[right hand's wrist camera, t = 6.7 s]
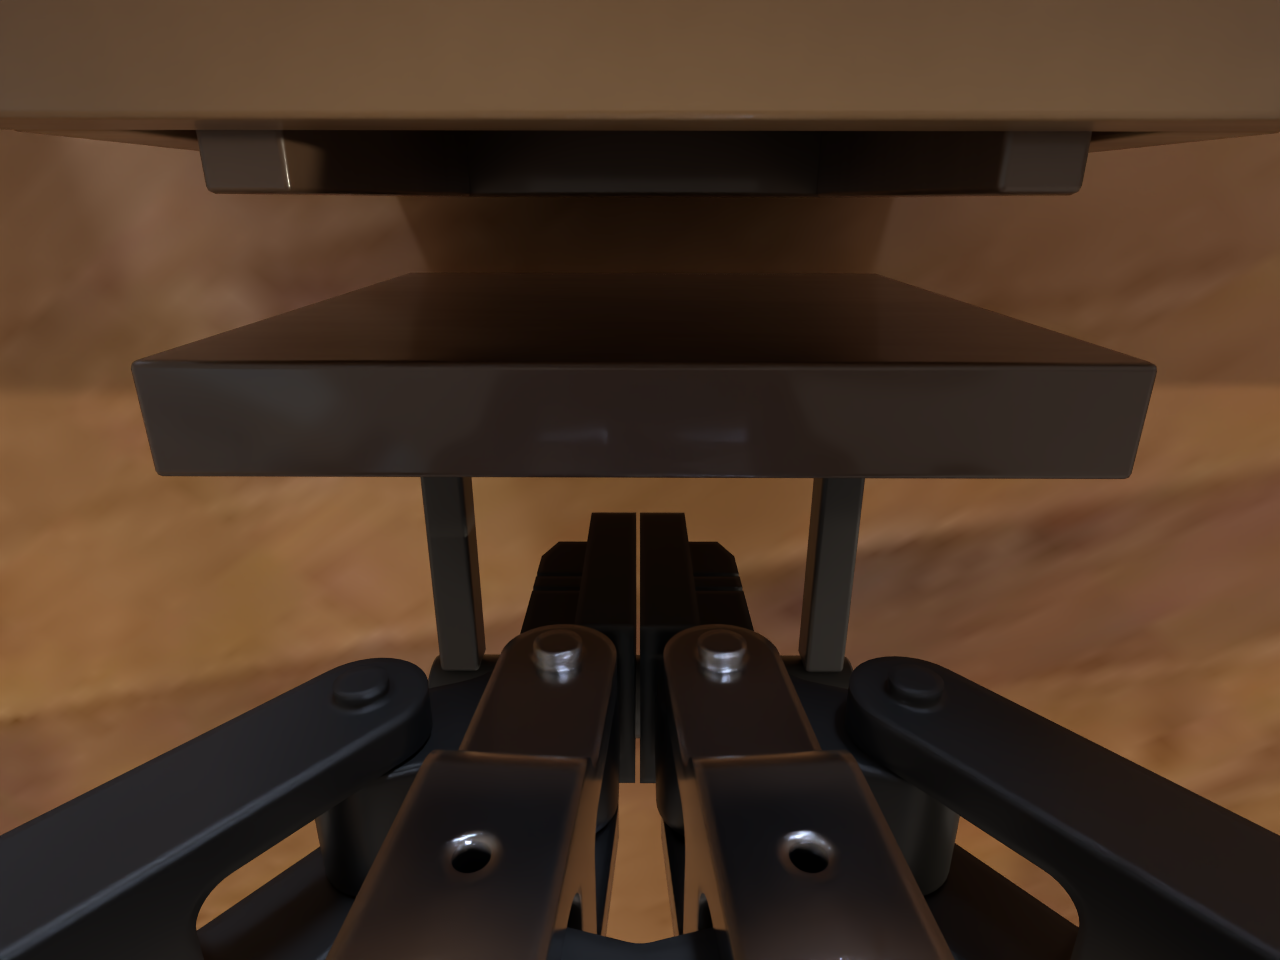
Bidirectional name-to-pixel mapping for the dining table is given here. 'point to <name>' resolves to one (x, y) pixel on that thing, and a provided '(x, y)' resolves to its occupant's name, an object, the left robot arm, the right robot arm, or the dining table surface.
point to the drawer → (643, 351)
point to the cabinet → (641, 67)
